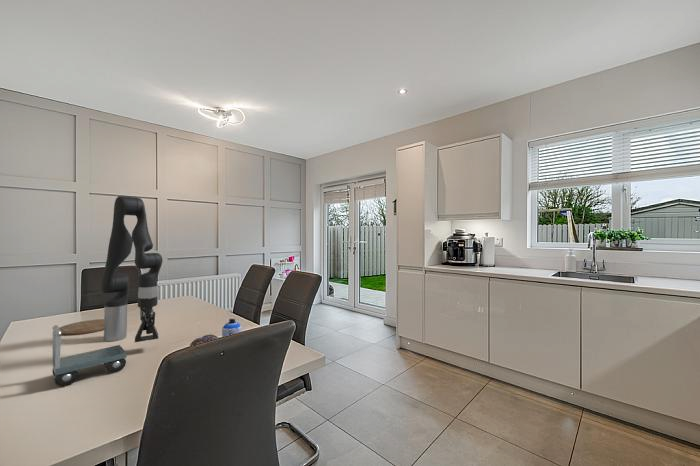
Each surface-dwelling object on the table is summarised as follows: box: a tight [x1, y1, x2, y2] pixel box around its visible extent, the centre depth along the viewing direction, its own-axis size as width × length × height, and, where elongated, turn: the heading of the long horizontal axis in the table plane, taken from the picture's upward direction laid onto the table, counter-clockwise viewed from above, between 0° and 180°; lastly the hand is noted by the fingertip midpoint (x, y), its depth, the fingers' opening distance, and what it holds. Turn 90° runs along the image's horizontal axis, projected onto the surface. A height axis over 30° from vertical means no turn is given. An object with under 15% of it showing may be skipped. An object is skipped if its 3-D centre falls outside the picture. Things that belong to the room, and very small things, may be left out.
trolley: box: [51, 324, 127, 388], centre depth 112 cm, size 12×20×20 cm, turn 139°
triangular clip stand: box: [134, 315, 159, 343], centre depth 135 cm, size 9×6×12 cm, turn 124°
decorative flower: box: [189, 334, 219, 346], centre depth 123 cm, size 14×12×15 cm
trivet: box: [59, 318, 104, 337], centre depth 166 cm, size 25×25×2 cm
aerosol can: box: [221, 318, 243, 338], centre depth 119 cm, size 8×8×20 cm
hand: (146, 331), depth 135 cm, fingers closed on triangular clip stand, 6 cm apart
